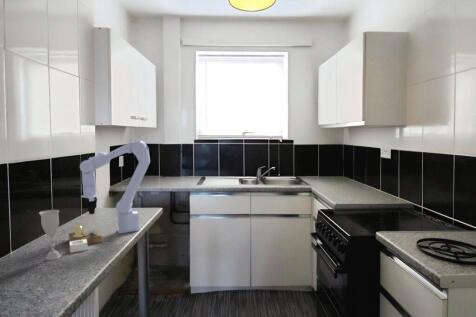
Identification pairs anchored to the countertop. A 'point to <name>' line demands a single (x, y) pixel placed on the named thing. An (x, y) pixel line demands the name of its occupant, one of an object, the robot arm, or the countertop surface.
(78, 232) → the peg
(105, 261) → the countertop surface
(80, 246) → the white block with hole
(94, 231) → the bar
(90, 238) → the socket block
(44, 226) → the chalice
